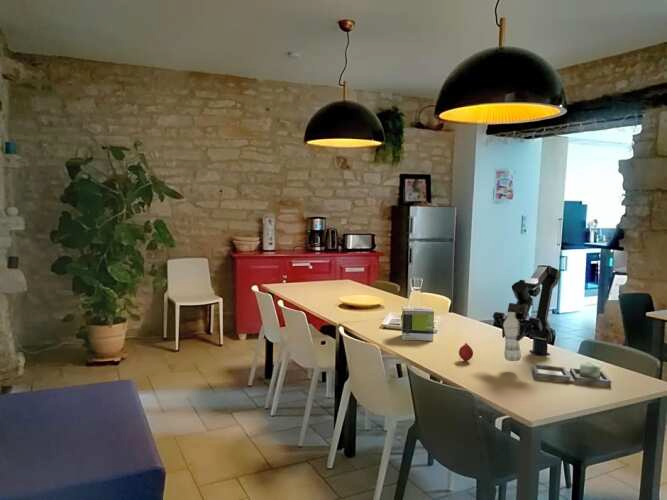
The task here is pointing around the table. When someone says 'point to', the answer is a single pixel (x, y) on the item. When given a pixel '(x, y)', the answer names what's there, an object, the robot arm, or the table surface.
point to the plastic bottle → (512, 337)
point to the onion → (466, 352)
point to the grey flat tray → (573, 374)
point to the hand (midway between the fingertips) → (510, 338)
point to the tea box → (417, 323)
